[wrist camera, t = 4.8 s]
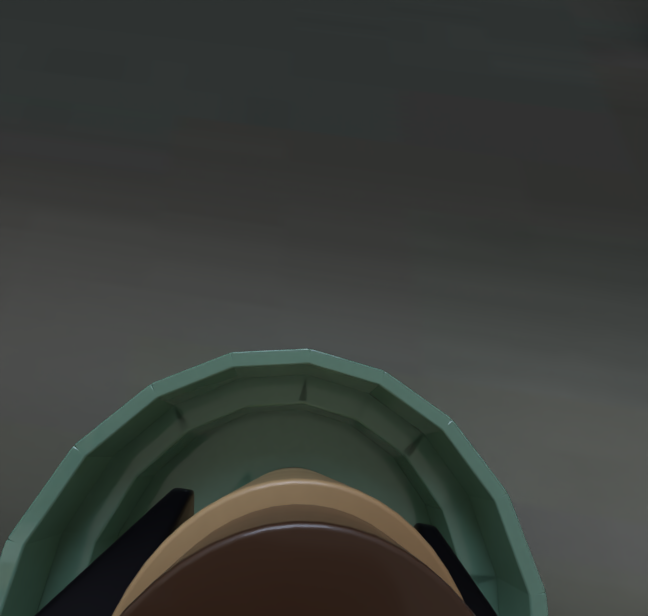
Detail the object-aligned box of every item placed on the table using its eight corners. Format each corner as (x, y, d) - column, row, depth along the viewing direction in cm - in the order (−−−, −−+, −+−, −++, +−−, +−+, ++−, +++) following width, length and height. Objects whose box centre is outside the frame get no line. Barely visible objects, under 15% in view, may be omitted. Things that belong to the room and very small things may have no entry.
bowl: (562, 699, 12) (679, 801, 9) (114, 1040, 9) (-4, 1432, 5) (371, 326, 17) (394, 287, 13) (22, 469, 14) (-78, 472, 10)
